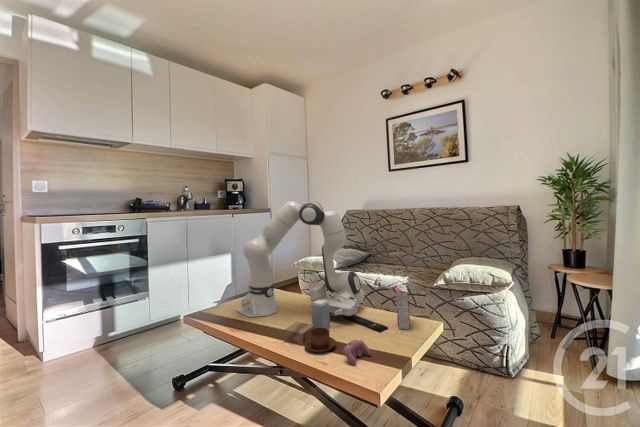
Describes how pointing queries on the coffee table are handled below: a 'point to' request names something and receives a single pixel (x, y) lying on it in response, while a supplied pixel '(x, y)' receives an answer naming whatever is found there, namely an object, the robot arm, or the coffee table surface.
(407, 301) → the candy bar box
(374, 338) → the coffee table surface
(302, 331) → the walnut block
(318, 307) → the tall gray box
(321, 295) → the ink box
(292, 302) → the coffee table surface
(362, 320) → the remote control
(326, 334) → the cup and saucer
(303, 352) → the coffee table surface
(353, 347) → the video game controller
